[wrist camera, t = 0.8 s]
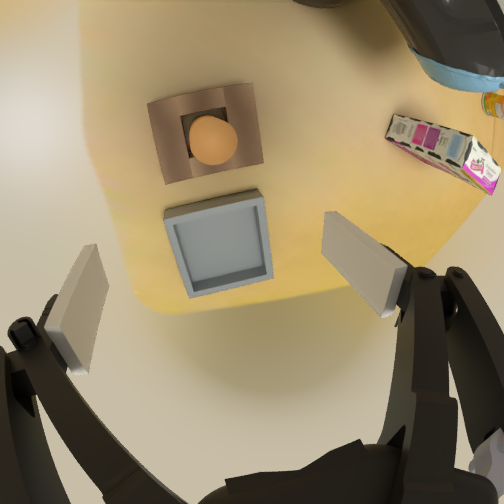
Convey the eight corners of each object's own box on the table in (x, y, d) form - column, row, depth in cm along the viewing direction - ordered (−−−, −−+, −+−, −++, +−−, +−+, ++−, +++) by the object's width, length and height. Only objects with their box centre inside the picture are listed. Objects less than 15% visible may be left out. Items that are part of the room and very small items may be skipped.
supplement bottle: (490, 90, 36) (522, 98, 28) (492, 112, 39) (525, 122, 31) (479, 93, 36) (514, 101, 28) (482, 116, 39) (516, 126, 31)
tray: (257, 188, 39) (263, 196, 36) (267, 265, 45) (273, 278, 42) (165, 210, 37) (163, 219, 34) (188, 284, 44) (189, 298, 41)
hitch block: (245, 84, 31) (252, 82, 28) (256, 157, 36) (263, 163, 33) (151, 104, 30) (146, 103, 26) (167, 176, 35) (165, 184, 32)
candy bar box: (383, 140, 39) (461, 169, 25) (392, 113, 36) (473, 132, 23) (424, 164, 42) (492, 197, 28) (432, 140, 40) (503, 168, 26)
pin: (217, 111, 32) (233, 115, 21) (222, 141, 34) (241, 159, 23) (186, 118, 32) (185, 124, 21) (192, 147, 34) (195, 169, 23)
